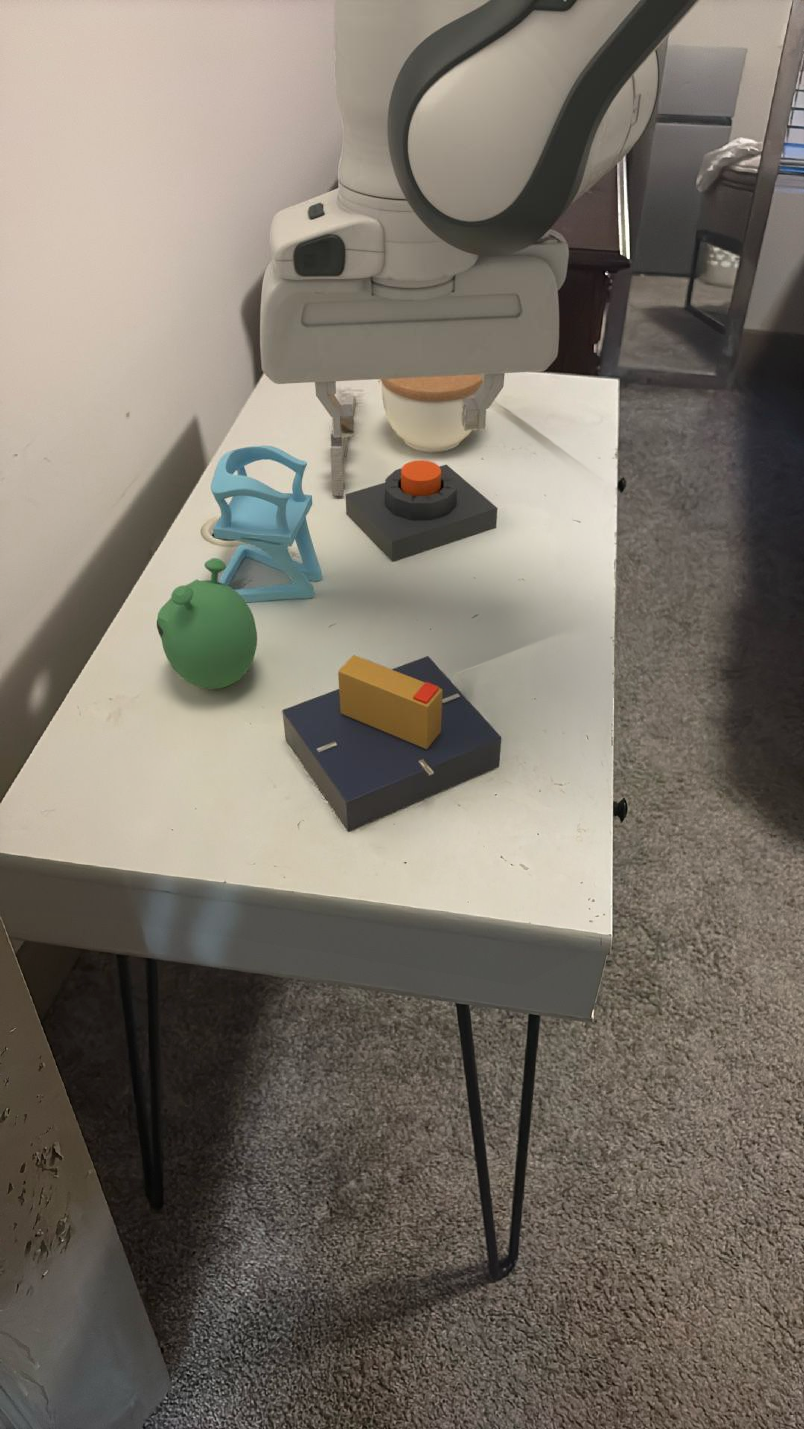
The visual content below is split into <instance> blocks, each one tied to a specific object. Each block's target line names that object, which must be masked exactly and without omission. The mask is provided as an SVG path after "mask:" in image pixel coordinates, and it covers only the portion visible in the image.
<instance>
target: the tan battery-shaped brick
mask: <svg viewBox="0 0 804 1429" xmlns="http://www.w3.org/2000/svg"><path fill="white" fill-rule="evenodd" d="M391 669H392V668H389V667H386V666H384V665H381V664H378V663H375V662H373V661H370V660H368V659H366V658H363V657H361V656H358V655H356V654H353V655H352V656H351V657H350V658H349V659H348V660H347V661H346V662H345V663H344V664H343V666H341V667H340V668H339V670H338V671H337V676H338V689H339V694H340V710H341V714H343V715H346V716H348V717H350V718H353V719H355V720H358V721H360V722H362V723H365V724H367V725H370V726H372V727H374V728H377V729H379V730H382V731H384V732H386V733H389V734H391V735H394V736H396V737H398V738H401V739H403V740H405V741H408V742H410V743H413V744H415V745H417V746H420V747H422V748H425V749H428V747H429V746H430V745H431V744H432V742H433V741H434V740H435V739H436V737H437V736H438V735H439V734H440V732H441V716H442V689H440V688H439V687H438V686H436V685H433V684H431V683H428V682H422V681H420V680H417V679H414V678H412V677H409V676H407V675H404V674H402V673H399V672H396V671H394V670H391Z"/></svg>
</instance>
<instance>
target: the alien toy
mask: <svg viewBox="0 0 804 1429" xmlns="http://www.w3.org/2000/svg"><path fill="white" fill-rule="evenodd" d="M204 567H205V569H206V570H207V571H208V572H210V573H211V577H210V579H207V580H206V579H205V580H199V579H194V580H193V581H191V582H190V583H187V584H186V585H179V586H178V587H176V588H174V589H173V591H172V593H171V595H170V598H169V599H168V600H167V601H166V602H165V603H164V605H162V607H161V608H160V609H159V611H158V612H157V619H156V628H157V632H158V635H159V637H160V639H161V644H162V650H163V652H164V654H165V656H166V659H167V661H168V662H169V664H170V666H171V668H172V669H173V671H175V673H176V674H177V675H178V676H179V677H181V678H182V680H184V681H185V682H187V683H188V684H190V685H193V686H195V687H197V688H200V689H201V688H202V689H205V690H218V689H223V688H227V687H229V686H231V685H233V684H235V683H236V682H238V681H239V680H240V679H241V678H243V677H244V675H245V674H246V673H247V672H248V670H249V669H250V667H251V665H252V663H253V661H254V659H255V655H256V652H257V651H256V650H257V647H258V646H257V645H258V632H257V625H256V620H255V617H254V614H253V612H252V609H251V608H250V606H249V605H248V602H245V600H244V599H243V598H242V596H241V595H240V594H239V593H237V592H236V591H235V590H236V589H233V588H232V587H231V586H227V585H225V584H223V583H220V582H219V580H218V579H219V578H218V577H219V573H221V572H224V571H225V569H226V567H227V564H226V563H225V562H224V561H222V560H221V559H220V558H217V557H212V558H210V559H208V560H206V561H205V562H204Z"/></svg>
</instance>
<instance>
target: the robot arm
mask: <svg viewBox="0 0 804 1429" xmlns="http://www.w3.org/2000/svg"><path fill="white" fill-rule="evenodd" d="M700 1H701V0H334V4H333V75H334V76H333V81H334V96H335V101H336V105H337V109H338V112H339V116H340V120H341V126H342V148H341V154H340V158H339V162H338V166H337V186H338V187H337V188H335V189H332V190H330V191H328V192H325V193H322V194H320V195H318V196H315V197H313V198H309V199H307V200H305V201H302V202H299V203H297V204H294V205H291V206H288V207H285V208H284V209H281V210H280V211H278V212H276V213H275V214H274V216H273V219H272V221H271V225H270V231H269V246H270V253H271V258H272V259H271V260H270V262H269V263H268V265H267V267H266V268H265V271H264V275H263V279H262V286H261V298H260V313H259V314H260V315H259V316H260V317H259V341H260V342H259V347H260V349H259V350H260V363H261V365H260V366H261V371H262V372H263V374H264V375H265V376H266V377H267V378H268V379H269V380H270V382H272V383H273V384H276V385H287V384H289V385H290V384H306V383H307V384H308V383H309V384H310V383H314V389H315V390H314V391H315V396H316V398H317V399H318V401H319V402H320V403H321V405H322V406H323V407H324V409H325V410H326V412H327V414H328V415H329V416H330V417H331V424H332V430H333V435H334V438H337V437H348V438H349V437H350V438H351V437H355V428H354V426H355V422H354V421H355V420H354V419H355V418H354V415H353V411H352V404H345V405H343V404H341V403H340V401H339V400H338V398H337V397H336V394H337V382H345V381H346V382H348V381H349V382H352V381H369V380H381V379H393V378H415V377H436V376H457V375H477V374H480V376H481V378H482V381H483V382H482V384H481V385H480V387H479V389H478V390H477V392H476V394H475V395H474V397H473V398H466V399H462V409H463V412H462V416H461V418H462V425H463V426H464V431H467V430H472V431H483V430H485V428H486V420H487V410H488V409H489V408H490V406H492V404H493V402H495V400H496V398H497V397H498V395H499V394H500V392H501V391H502V390H503V388H504V387H505V386H504V385H505V374H515V373H517V374H519V373H537V372H538V373H539V372H545V371H546V370H548V368H550V366H551V365H552V364H553V362H554V361H555V360H556V359H557V358H558V354H559V344H560V303H559V292H558V291H559V290H560V289H561V288H562V286H563V285H564V283H565V281H566V278H567V276H568V275H567V273H568V266H569V257H570V249H569V244H568V242H567V240H566V238H565V237H564V236H563V235H562V234H561V233H560V232H558V231H557V230H554V229H551V228H552V227H553V226H555V224H556V223H557V222H558V221H559V219H561V217H562V216H563V215H564V214H565V212H566V211H567V210H568V208H569V207H570V206H571V205H572V204H573V203H575V202H576V201H577V200H579V198H580V197H582V196H583V195H584V194H585V193H587V191H589V189H591V188H592V187H593V186H594V185H596V184H597V183H598V182H599V181H600V180H601V179H602V178H603V177H604V176H605V175H606V174H608V173H609V172H610V171H611V170H612V169H613V168H614V167H616V165H618V164H619V163H620V162H621V161H622V160H623V159H624V158H625V157H626V156H627V155H628V154H629V153H630V151H631V150H632V149H633V148H634V147H635V146H636V145H637V143H638V142H639V141H640V140H641V138H642V137H643V135H644V133H646V130H647V128H648V126H649V124H650V122H651V120H652V117H653V115H654V112H655V109H656V105H657V101H658V96H659V89H660V62H659V55H658V50H657V49H658V48H659V47H660V46H661V45H662V44H663V43H664V41H665V40H666V39H667V38H668V37H669V36H670V35H671V34H672V33H673V31H674V30H675V29H676V28H677V27H678V25H680V24H681V22H682V21H683V20H684V19H685V18H686V17H687V16H688V14H689V13H690V12H691V11H692V10H693V9H694V8H695V7H696V6H697V4H698V3H700ZM550 238H552V239H550Z"/></svg>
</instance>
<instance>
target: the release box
mask: <svg viewBox="0 0 804 1429" xmlns="http://www.w3.org/2000/svg"><path fill="white" fill-rule="evenodd" d="M438 466H439V465H438ZM439 467H440V469H441V488H440V490H439V492H438V493H435V494H432V495H429V496H413V495H410V494H407V493H404V492H403V490H402V488H401V469H402V467H400V468H398V469H395V470H394V471H392V473H391V474H390V475H388V476H387V477H386V478H385V480H384V482H383V483H378V484H375V485H372V486H368V487H364V488H361V489H358V490H354V491H352V492H349V493H345V495H344V496H345V514H346V516H347V517H349V519H350V520H351V521H352V522H353V523H354V524H355V525H356V526H358V528H359V529H360V530H361V531H362V532H363V533H364V534H365V535H366V537H367V538H369V540H370V541H371V542H372V543H373V544H374V545H375V546H376V547H377V548H378V549H379V550H380V551H381V552H382V553H383V554H384V555H385V556H386V557H387V558H388V559H389V560H390V561H391V562H392V563H393V562H397V561H400V560H403V559H405V558H406V559H407V558H409V557H412V556H415V555H417V554H421V553H424V552H427V551H430V550H433V549H436V548H440V547H442V546H445V545H449V544H451V543H455V542H458V541H461V540H463V539H466V538H469V537H473V536H475V535H479V534H481V533H485V532H488V531H491V530H494V529H497V522H498V521H497V520H498V507H497V506H496V505H495V504H494V503H492V502H491V501H490V500H489V499H488V498H486V497H485V496H484V495H483V494H482V493H480V491H478V490H477V489H476V488H475V487H473V486H472V485H471V484H470V483H469V482H468V481H467V480H465V479H464V478H463V477H462V476H461V475H459V473H457V472H456V471H455V470H454V469H453V468H451V466H449V465H448V464H442V465H440V466H439Z"/></svg>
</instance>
